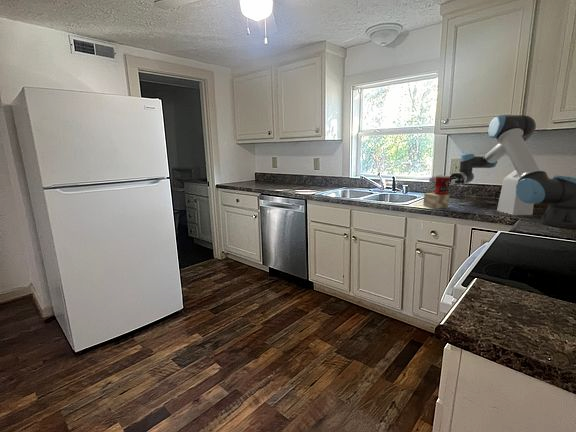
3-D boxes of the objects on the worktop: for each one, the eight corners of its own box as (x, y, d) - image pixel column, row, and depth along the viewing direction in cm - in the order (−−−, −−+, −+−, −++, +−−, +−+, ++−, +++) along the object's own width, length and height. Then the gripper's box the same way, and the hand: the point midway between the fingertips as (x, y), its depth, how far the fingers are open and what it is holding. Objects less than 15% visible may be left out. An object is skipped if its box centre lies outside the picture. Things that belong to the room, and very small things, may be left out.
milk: (532, 214, 172) (540, 167, 167) (512, 215, 172) (520, 167, 166) (515, 210, 184) (522, 165, 178) (496, 210, 183) (503, 165, 177)
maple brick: (436, 204, 202) (438, 192, 200) (448, 207, 193) (449, 194, 191) (423, 205, 200) (424, 193, 198) (433, 208, 190) (435, 195, 189)
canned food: (439, 195, 190) (442, 176, 188) (431, 193, 198) (433, 175, 196) (451, 194, 192) (453, 176, 189) (442, 192, 200) (444, 175, 197)
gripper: (477, 186, 195) (460, 189, 182) (438, 182, 214) (421, 185, 202) (479, 174, 193) (462, 176, 181) (439, 171, 213) (422, 173, 200)
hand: (440, 181), depth 191 cm, fingers open, 13 cm apart
